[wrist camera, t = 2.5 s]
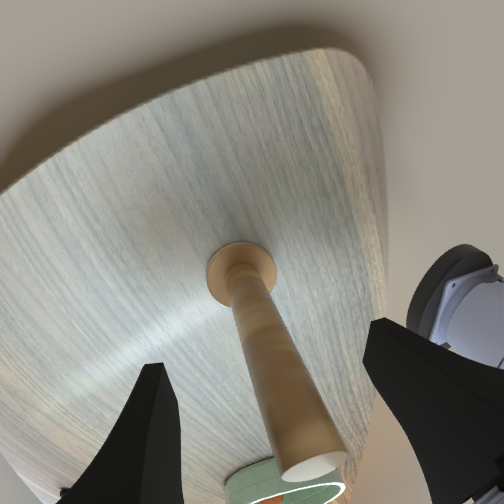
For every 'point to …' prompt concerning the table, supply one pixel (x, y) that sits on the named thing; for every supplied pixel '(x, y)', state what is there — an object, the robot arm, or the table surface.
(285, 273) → the table surface
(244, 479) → the mixing bowl
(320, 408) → the stick
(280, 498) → the ball
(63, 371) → the table surface
